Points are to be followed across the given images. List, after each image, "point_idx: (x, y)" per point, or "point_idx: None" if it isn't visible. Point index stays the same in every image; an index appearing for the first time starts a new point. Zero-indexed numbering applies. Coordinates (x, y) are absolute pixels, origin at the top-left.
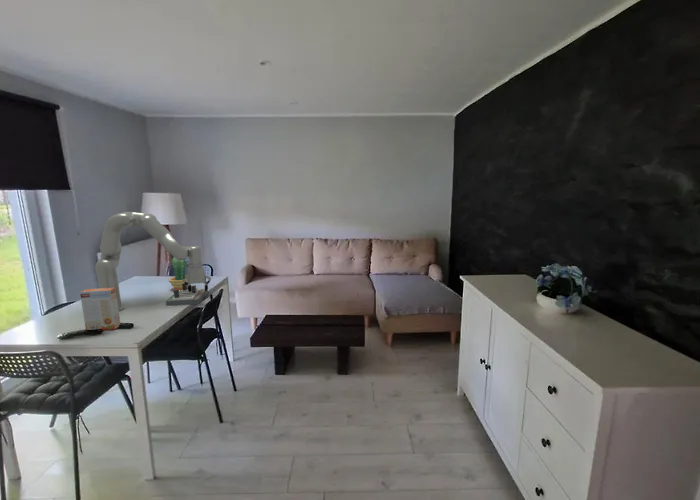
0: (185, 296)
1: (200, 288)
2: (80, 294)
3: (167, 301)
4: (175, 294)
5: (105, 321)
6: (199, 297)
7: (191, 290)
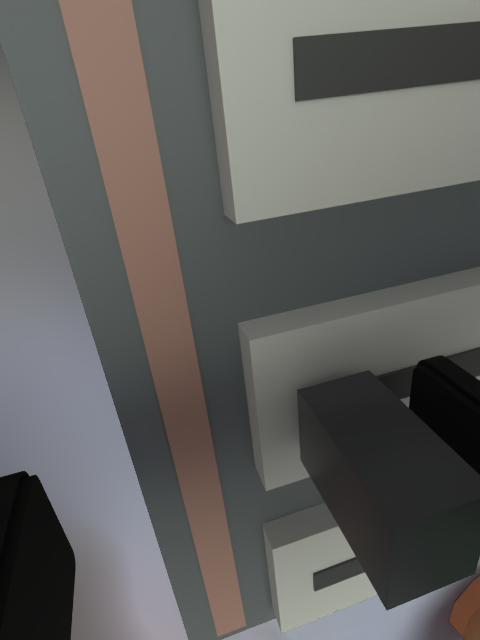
0: (464, 101)
1: (296, 616)
2: None
3: None
4: None
5: None
6: (45, 113)
7: None
